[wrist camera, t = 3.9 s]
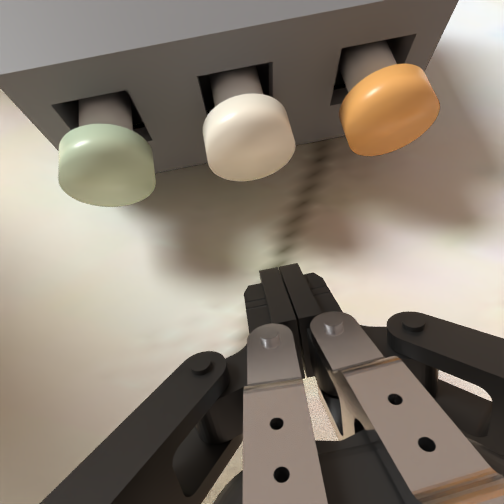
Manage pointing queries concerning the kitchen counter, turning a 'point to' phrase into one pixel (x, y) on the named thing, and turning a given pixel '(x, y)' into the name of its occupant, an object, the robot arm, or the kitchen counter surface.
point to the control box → (198, 59)
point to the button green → (106, 155)
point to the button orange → (383, 100)
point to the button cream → (245, 128)
